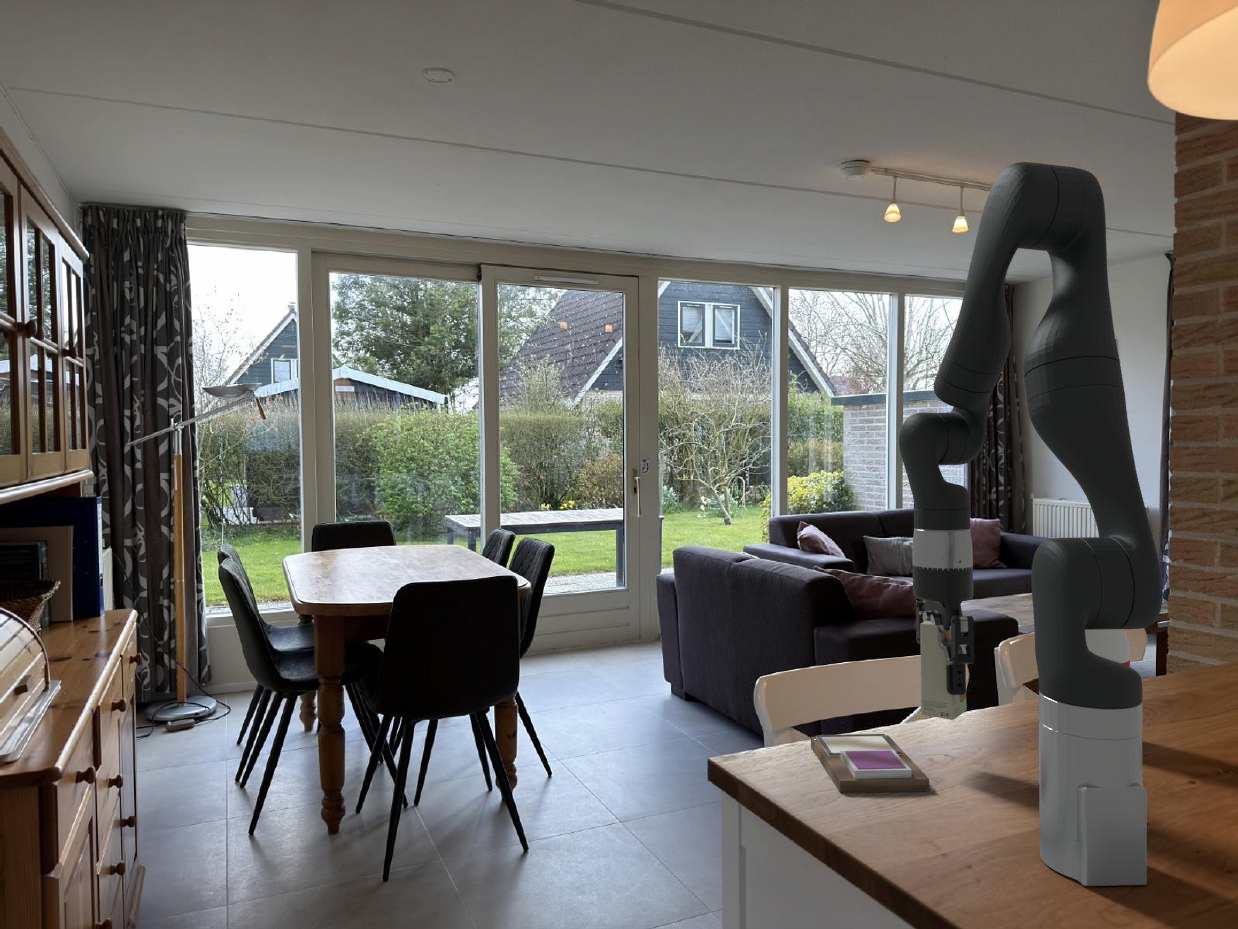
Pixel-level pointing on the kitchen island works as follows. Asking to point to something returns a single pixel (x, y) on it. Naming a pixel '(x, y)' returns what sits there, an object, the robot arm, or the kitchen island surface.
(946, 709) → the skincare box
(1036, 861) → the kitchen island surface
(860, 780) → the stamping board
